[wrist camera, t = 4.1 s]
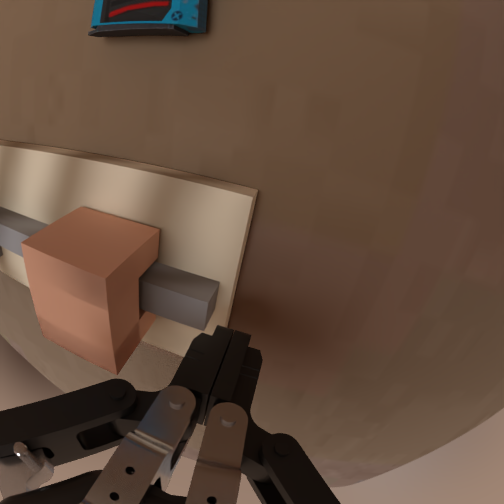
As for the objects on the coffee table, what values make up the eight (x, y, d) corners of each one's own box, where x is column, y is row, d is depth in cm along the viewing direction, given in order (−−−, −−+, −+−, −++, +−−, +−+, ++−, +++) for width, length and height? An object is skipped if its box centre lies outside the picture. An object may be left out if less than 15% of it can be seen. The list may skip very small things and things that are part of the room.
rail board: (258, 189, 14) (219, 246, 9) (221, 354, 19) (191, 430, 14) (-11, 138, 16) (-71, 161, 10) (3, 261, 21) (-42, 295, 16)
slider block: (159, 229, 14) (105, 278, 10) (155, 319, 17) (117, 375, 13) (81, 206, 15) (20, 242, 11) (87, 292, 18) (43, 336, 14)
